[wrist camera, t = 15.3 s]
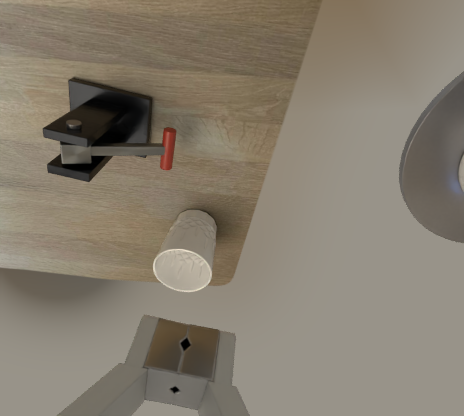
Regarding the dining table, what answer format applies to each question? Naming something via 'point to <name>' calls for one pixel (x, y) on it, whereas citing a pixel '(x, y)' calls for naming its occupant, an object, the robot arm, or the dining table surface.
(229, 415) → the robot arm
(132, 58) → the dining table surface
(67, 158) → the power lever
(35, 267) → the dining table surface
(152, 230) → the dining table surface
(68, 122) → the switch bracket
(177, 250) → the white cup
